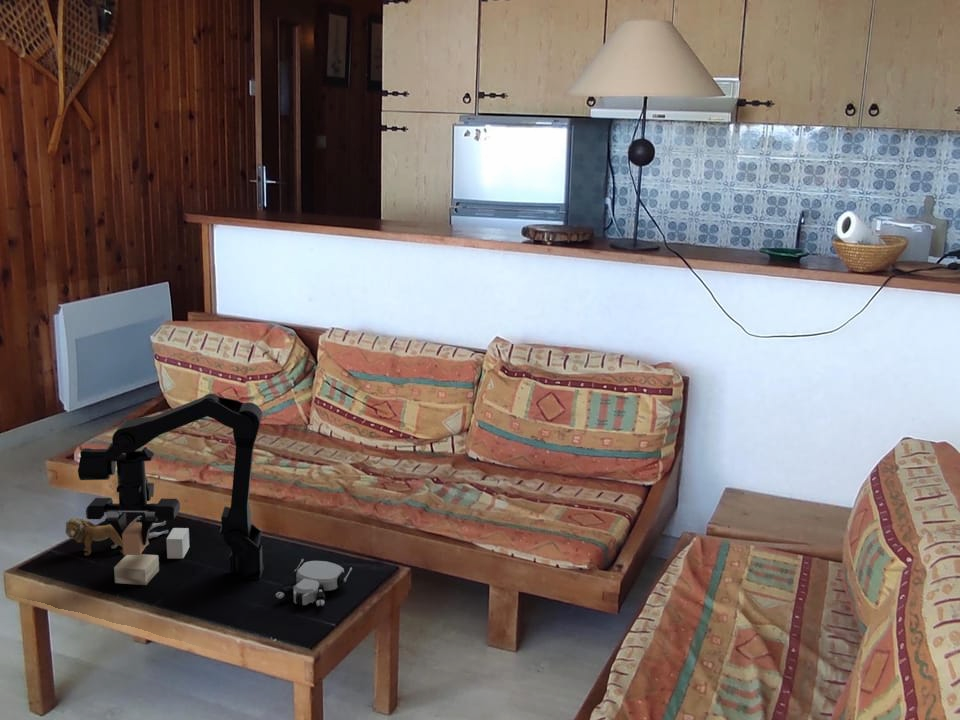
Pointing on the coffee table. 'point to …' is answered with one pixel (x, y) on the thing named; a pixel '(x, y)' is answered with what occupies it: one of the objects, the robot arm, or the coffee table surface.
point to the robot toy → (314, 582)
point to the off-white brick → (178, 543)
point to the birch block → (136, 569)
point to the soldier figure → (153, 534)
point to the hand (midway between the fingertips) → (135, 544)
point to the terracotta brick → (133, 539)
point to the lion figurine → (91, 533)
